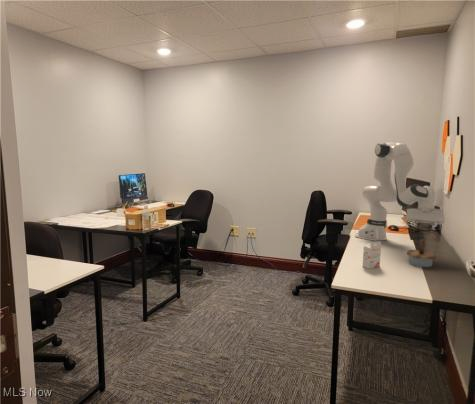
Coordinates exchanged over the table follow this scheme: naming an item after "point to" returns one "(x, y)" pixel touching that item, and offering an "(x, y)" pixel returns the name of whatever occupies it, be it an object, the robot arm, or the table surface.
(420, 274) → the table surface
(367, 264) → the ink cartridge box
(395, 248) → the table surface
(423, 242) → the lid
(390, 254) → the table surface
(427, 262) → the bowl
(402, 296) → the table surface
